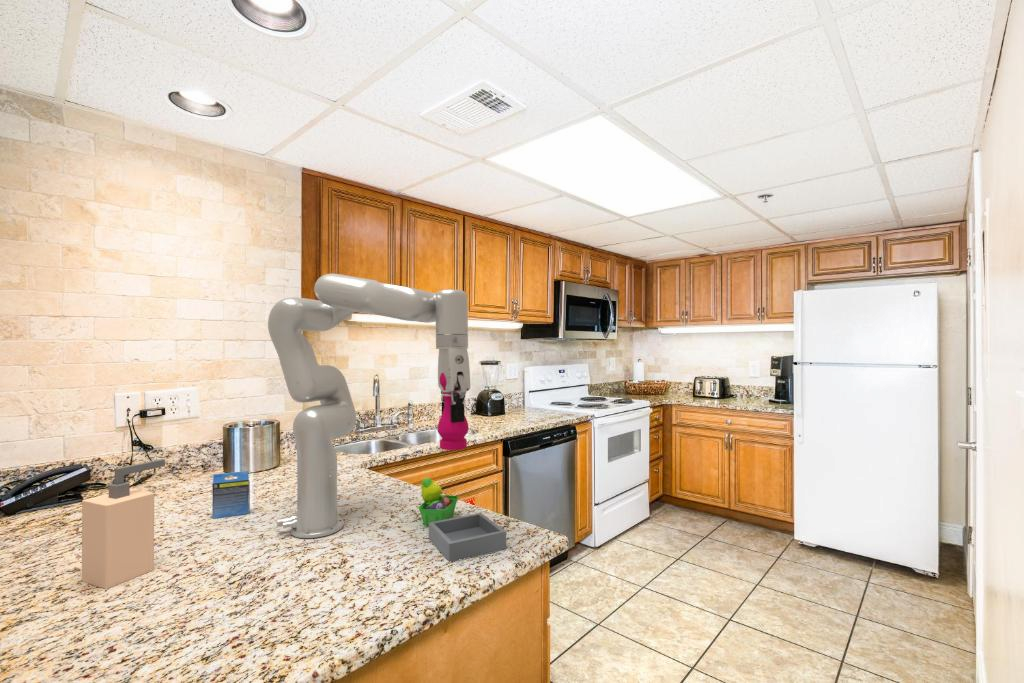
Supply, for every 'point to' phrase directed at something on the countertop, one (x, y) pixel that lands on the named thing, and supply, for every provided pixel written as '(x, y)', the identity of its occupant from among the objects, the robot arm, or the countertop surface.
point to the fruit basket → (435, 503)
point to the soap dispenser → (118, 531)
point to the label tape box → (230, 494)
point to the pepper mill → (451, 424)
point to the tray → (466, 536)
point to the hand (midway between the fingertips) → (452, 419)
